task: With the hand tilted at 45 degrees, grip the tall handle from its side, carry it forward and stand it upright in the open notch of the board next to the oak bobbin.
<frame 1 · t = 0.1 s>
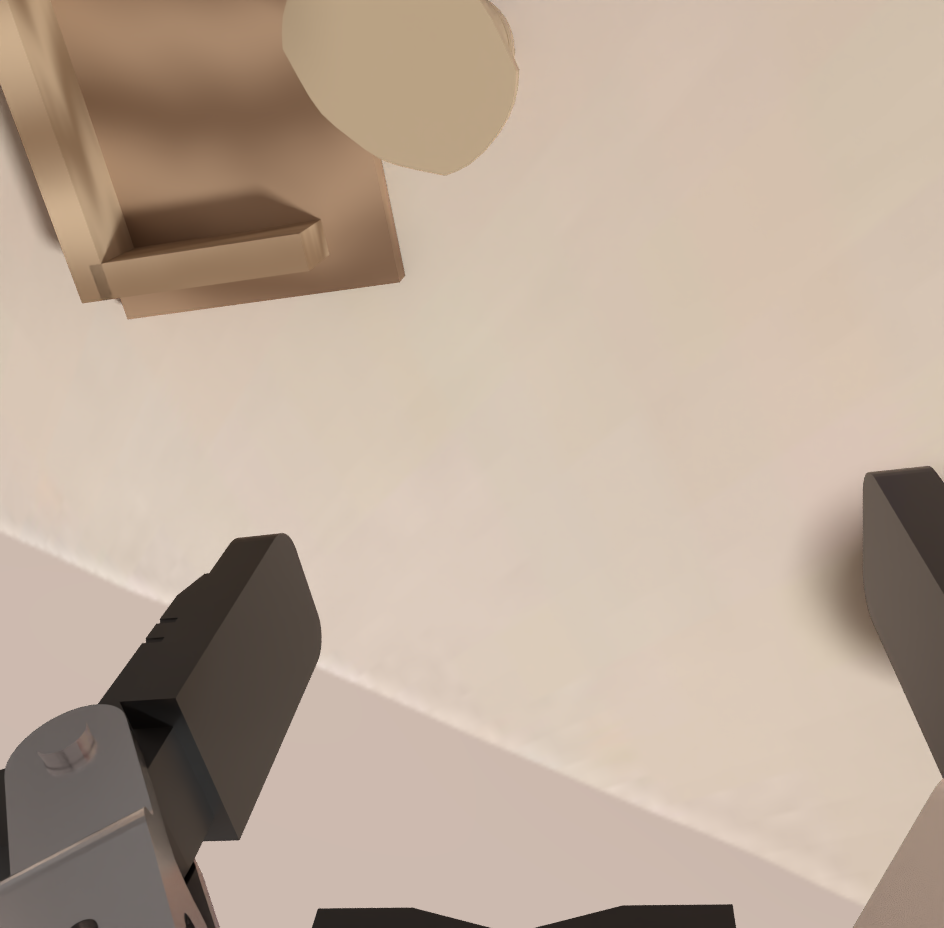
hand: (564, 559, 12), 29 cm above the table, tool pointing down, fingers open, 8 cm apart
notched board: (213, 97, 38), on the table
handle: (477, 47, 36), on the table
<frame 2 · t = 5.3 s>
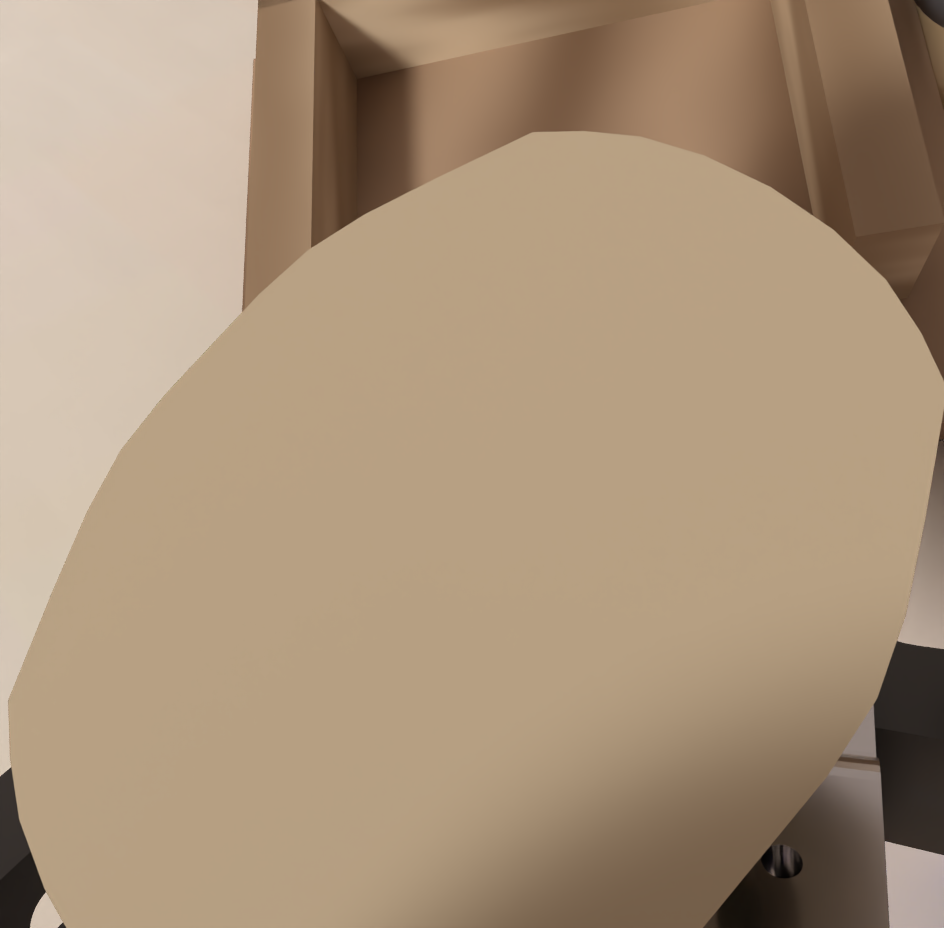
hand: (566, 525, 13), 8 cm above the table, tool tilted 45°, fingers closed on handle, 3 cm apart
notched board: (573, 229, 23), on the table
handle: (617, 690, 19), on the table, touching gripper
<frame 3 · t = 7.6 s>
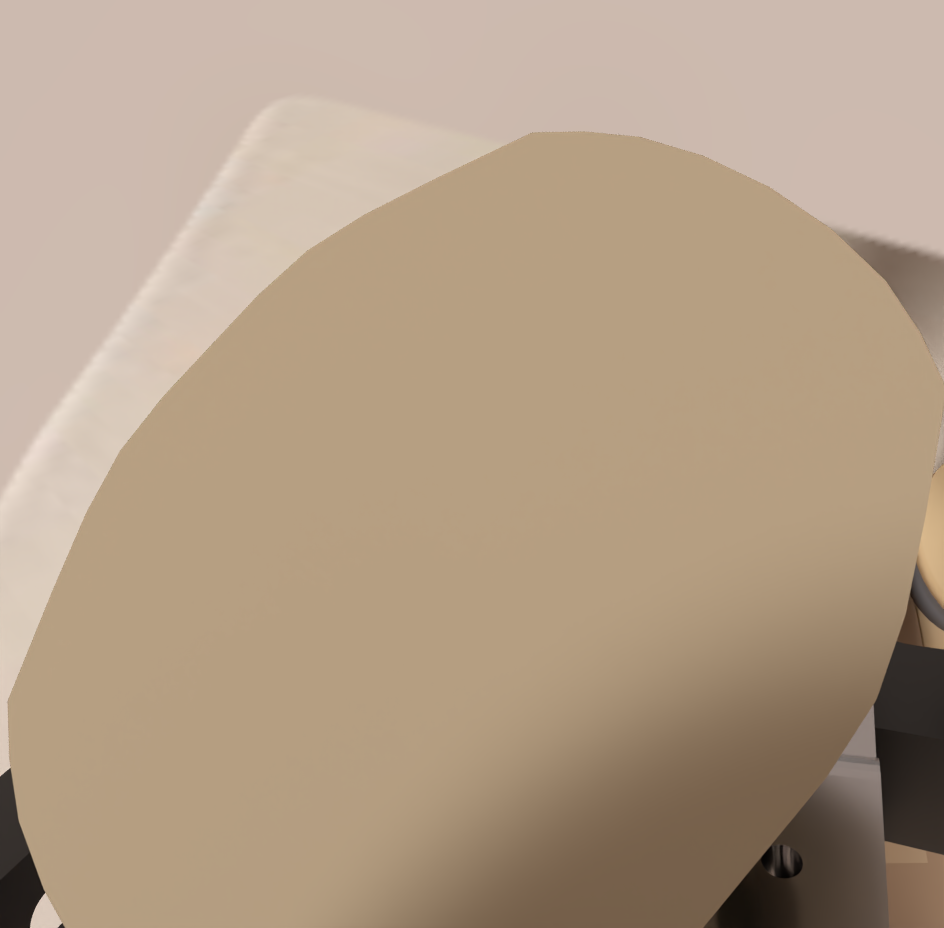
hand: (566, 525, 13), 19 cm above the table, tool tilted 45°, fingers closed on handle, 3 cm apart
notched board: (641, 721, 30), on the table
handle: (618, 690, 19), point 11 cm above the table, touching gripper
when the fingers open (10 cm above the table, at t = 10.0 s): handle drops 1 cm, resting on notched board.
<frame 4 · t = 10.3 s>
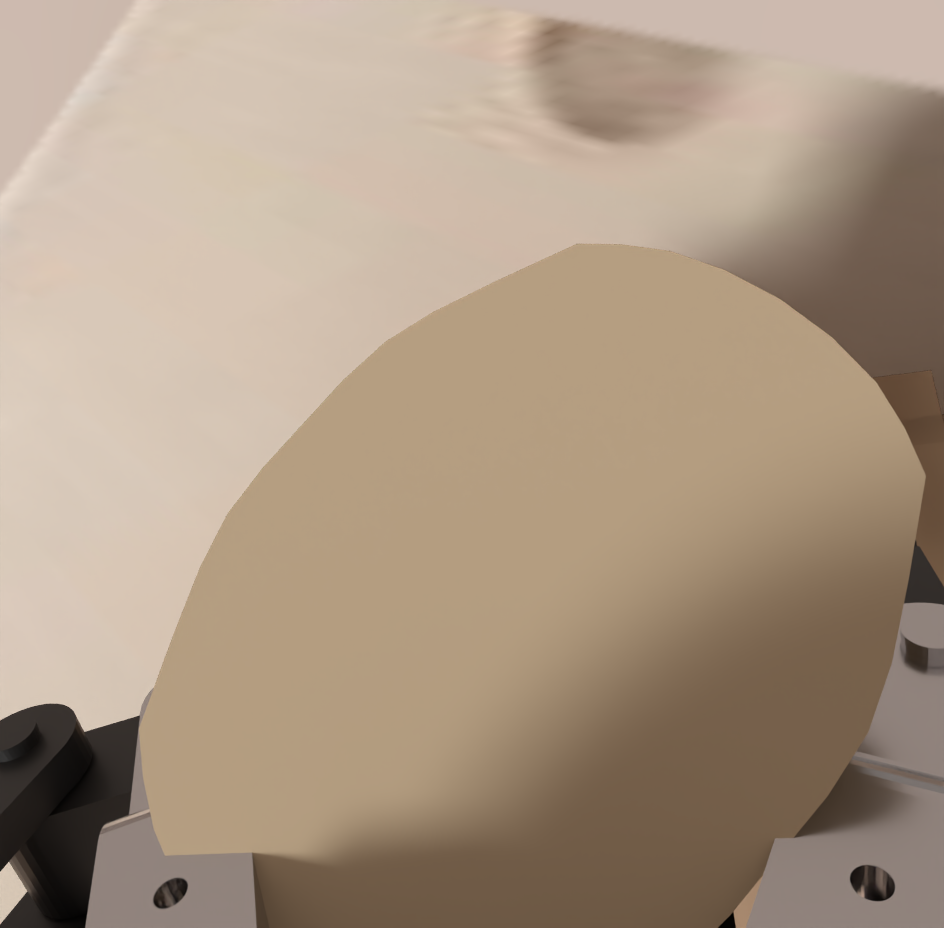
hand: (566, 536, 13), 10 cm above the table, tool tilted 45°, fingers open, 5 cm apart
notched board: (627, 737, 21), on the table
handle: (627, 700, 21), point 1 cm above the table, touching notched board
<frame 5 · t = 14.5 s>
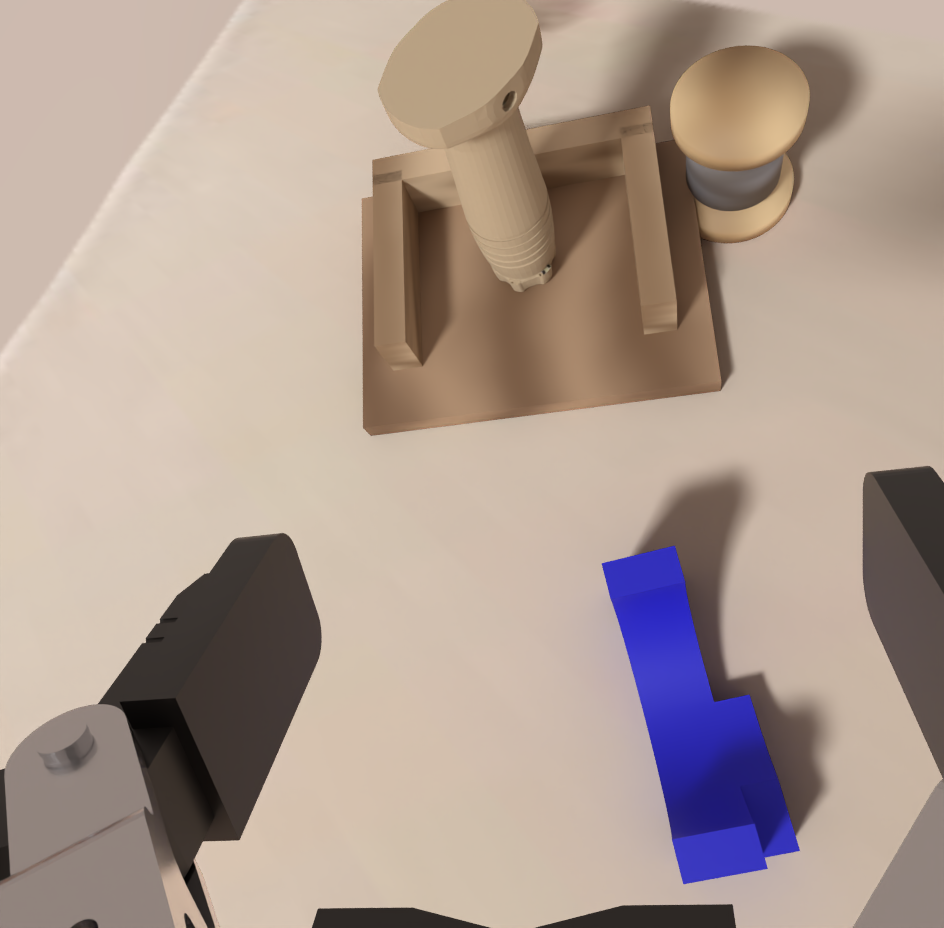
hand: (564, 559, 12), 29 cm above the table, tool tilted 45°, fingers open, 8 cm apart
cable clip: (696, 707, 38), on the table
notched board: (529, 292, 46), on the table
handle: (527, 269, 45), point 1 cm above the table, touching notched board
bobbin: (731, 192, 45), on the table
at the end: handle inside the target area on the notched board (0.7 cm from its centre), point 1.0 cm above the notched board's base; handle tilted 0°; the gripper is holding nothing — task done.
